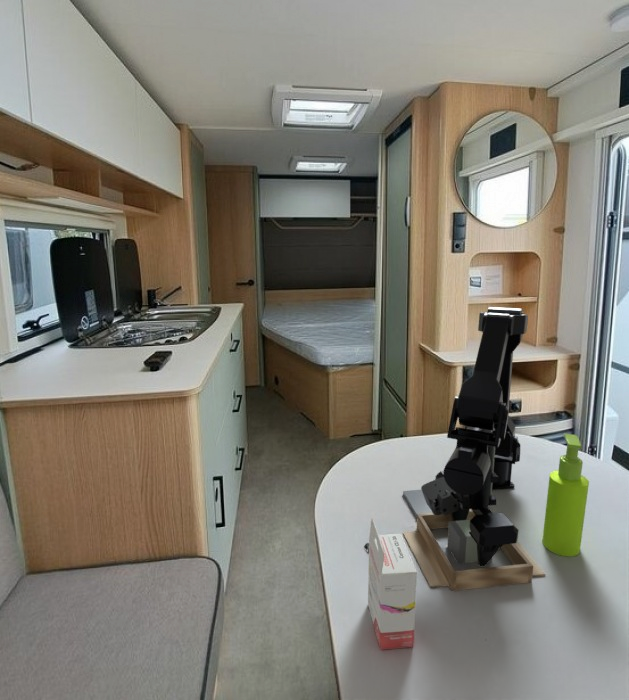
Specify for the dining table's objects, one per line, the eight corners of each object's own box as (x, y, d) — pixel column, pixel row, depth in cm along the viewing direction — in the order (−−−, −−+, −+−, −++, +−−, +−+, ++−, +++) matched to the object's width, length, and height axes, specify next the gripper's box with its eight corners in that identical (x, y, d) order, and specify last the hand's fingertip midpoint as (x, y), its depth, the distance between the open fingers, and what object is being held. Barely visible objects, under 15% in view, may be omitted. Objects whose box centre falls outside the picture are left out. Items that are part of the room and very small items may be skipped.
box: (479, 543, 83) (481, 518, 82) (491, 560, 79) (494, 534, 78) (447, 546, 83) (448, 521, 81) (458, 563, 78) (459, 537, 77)
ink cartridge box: (416, 648, 62) (419, 552, 59) (379, 651, 62) (381, 555, 58) (399, 600, 71) (401, 513, 67) (366, 602, 70) (367, 515, 67)
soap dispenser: (575, 535, 85) (588, 433, 80) (582, 559, 79) (597, 450, 74) (539, 529, 87) (550, 429, 82) (544, 552, 80) (556, 445, 76)
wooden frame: (497, 520, 90) (499, 506, 89) (549, 580, 74) (551, 563, 73) (401, 529, 87) (401, 515, 87) (433, 593, 72) (434, 576, 71)
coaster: (452, 490, 101) (452, 486, 100) (473, 516, 91) (473, 513, 91) (403, 494, 99) (403, 491, 99) (418, 521, 90) (419, 518, 90)
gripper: (409, 444, 85) (407, 520, 89) (451, 499, 67) (446, 592, 71) (468, 440, 86) (463, 515, 90) (524, 493, 68) (515, 584, 72)
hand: (469, 547), depth 80 cm, fingers open, 9 cm apart
